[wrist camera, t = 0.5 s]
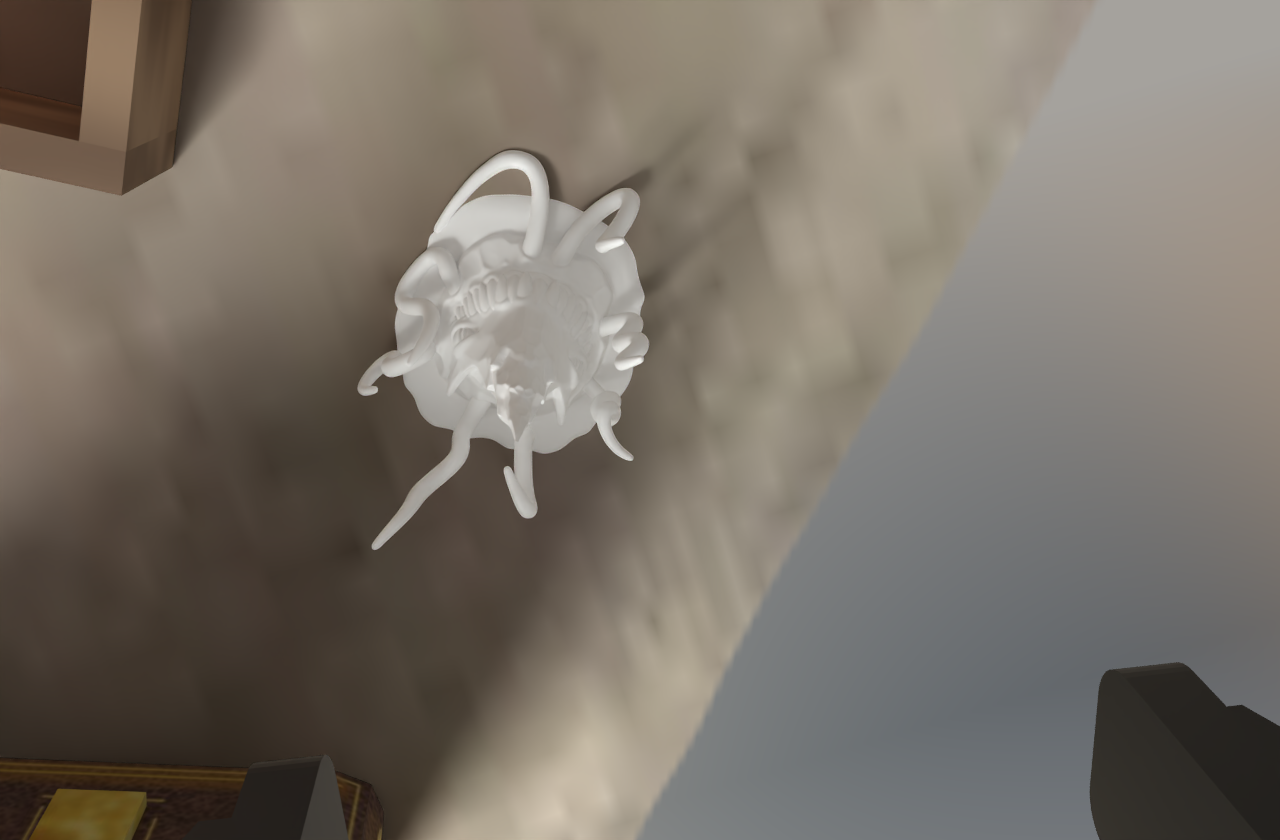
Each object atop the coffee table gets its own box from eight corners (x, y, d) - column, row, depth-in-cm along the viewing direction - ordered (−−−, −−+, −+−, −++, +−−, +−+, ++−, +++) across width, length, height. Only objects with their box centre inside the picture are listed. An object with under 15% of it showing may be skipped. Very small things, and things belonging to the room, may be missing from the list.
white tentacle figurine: (692, 202, 39) (742, 268, 30) (587, 521, 42) (603, 661, 34) (427, 121, 37) (397, 166, 28) (341, 460, 41) (293, 592, 32)
